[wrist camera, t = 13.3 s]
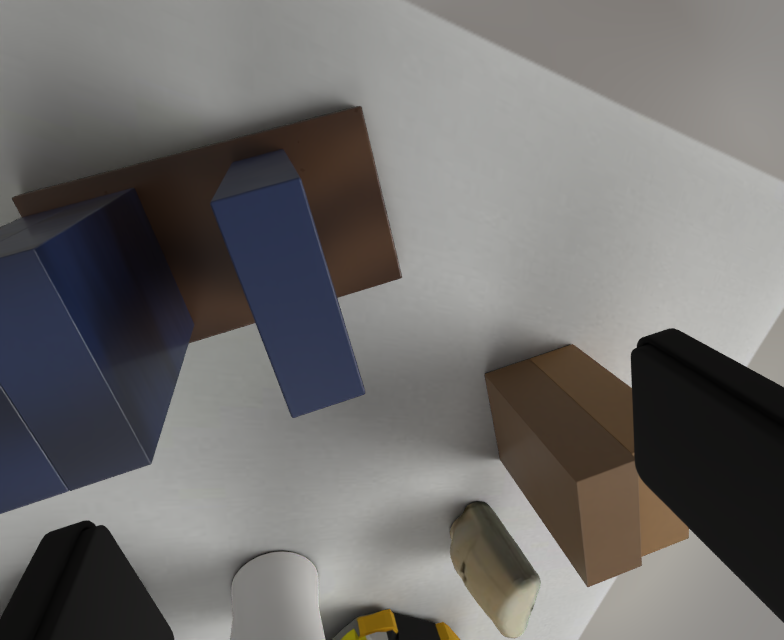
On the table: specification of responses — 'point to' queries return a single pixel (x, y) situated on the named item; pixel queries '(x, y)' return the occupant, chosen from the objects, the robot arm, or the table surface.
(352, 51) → the table surface
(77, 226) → the blue bookends on base
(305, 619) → the cup
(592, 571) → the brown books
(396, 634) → the gaming controller
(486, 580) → the grey-green rounded box
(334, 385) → the navy book
